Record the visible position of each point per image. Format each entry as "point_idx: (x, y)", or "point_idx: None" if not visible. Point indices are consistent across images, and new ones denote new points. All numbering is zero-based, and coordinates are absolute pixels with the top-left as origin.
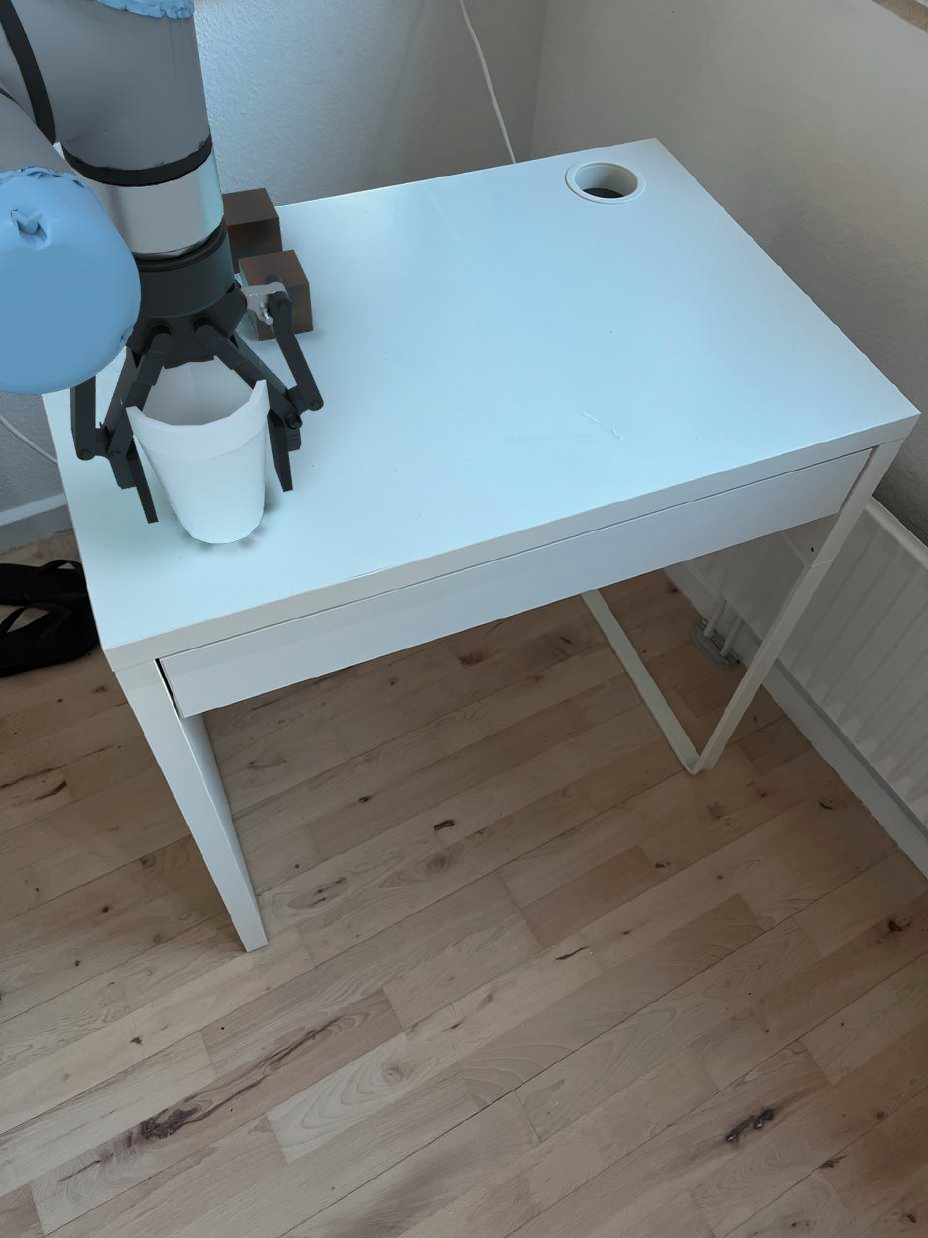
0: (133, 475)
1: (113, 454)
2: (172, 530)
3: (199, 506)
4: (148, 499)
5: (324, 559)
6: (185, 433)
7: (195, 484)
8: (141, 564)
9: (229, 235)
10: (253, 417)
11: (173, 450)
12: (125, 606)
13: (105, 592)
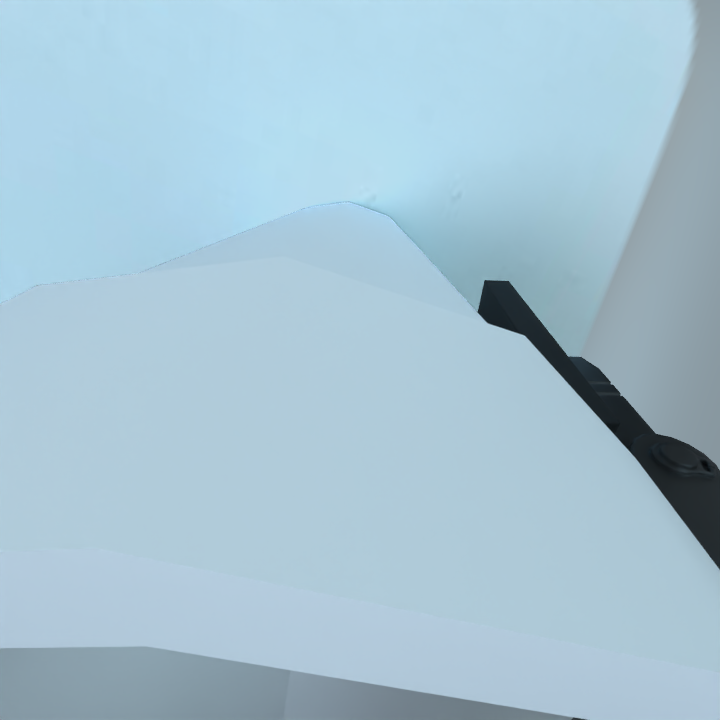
0: (578, 375)
1: (699, 465)
2: (446, 277)
3: (399, 235)
4: (516, 315)
5: (129, 57)
6: (478, 584)
7: (403, 256)
8: (539, 209)
9: None
10: None
11: (556, 388)
12: (634, 87)
13: (647, 154)
